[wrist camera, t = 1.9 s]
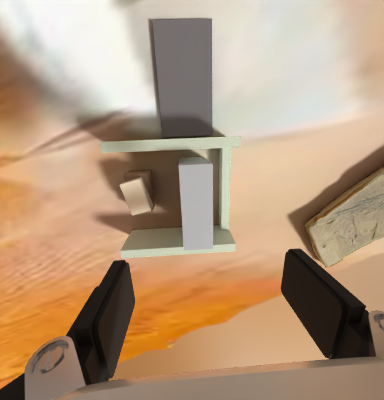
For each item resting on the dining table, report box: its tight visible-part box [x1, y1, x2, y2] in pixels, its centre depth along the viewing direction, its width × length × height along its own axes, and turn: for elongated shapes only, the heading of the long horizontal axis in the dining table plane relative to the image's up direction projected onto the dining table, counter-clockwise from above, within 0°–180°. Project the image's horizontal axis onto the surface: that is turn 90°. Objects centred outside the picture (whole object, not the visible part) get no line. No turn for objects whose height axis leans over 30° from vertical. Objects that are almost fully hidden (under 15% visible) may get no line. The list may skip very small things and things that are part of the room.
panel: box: [152, 19, 212, 137], centre depth 23 cm, size 13×7×1 cm, turn 2°
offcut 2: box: [120, 177, 153, 216], centre depth 24 cm, size 4×3×2 cm, turn 15°
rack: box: [99, 136, 241, 258], centre depth 25 cm, size 15×16×6 cm
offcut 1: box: [124, 170, 155, 213], centre depth 26 cm, size 6×3×3 cm, turn 2°
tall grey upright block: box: [179, 157, 213, 250], centre depth 24 cm, size 10×4×9 cm, turn 2°
